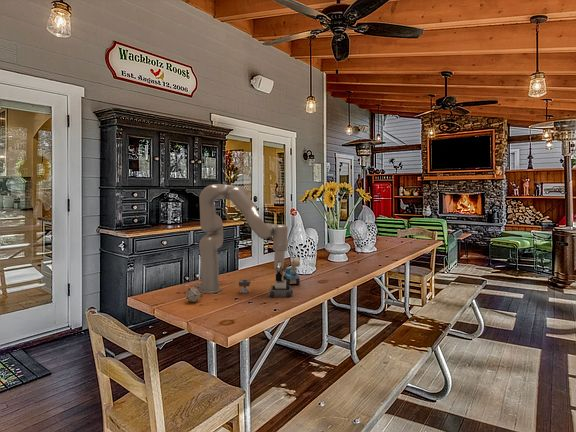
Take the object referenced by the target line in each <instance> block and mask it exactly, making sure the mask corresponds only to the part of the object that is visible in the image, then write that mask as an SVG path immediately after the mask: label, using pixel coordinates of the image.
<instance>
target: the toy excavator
mask: <svg viewBox="0 0 576 432" xmlns="http://www.w3.org/2000/svg"><path fill="white" fill-rule="evenodd" d="M297 267H298V268H299V267H300V259H299V257H296V258H295V257H294V258H293V259H292V261H291V266H286V268H285V270H284V272H283V276H282V280H286V285H292V284H293V285H295V284H296V285H300V281H301V280H300V275H299V274H298V273H297Z"/></svg>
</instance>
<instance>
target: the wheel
mask: <svg viewBox="0 0 576 432" xmlns="http://www.w3.org/2000/svg"><path fill="white" fill-rule="evenodd" d="M250 285H251V279H240V280H239V282H238V287H243V286H246V287H250Z"/></svg>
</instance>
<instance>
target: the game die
mask: <svg viewBox="0 0 576 432" xmlns="http://www.w3.org/2000/svg"><path fill="white" fill-rule="evenodd" d="M199 288H200V287H195V286H193V285H191V286H190V288H188V290H187V291H184V292H183V293H184V294H185V296H186V300H187V303H188V302H192V303H194V304H196V302H197V301H199V299H200V298H201V297H203V295H201V292H199V291H200V290H199Z"/></svg>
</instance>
